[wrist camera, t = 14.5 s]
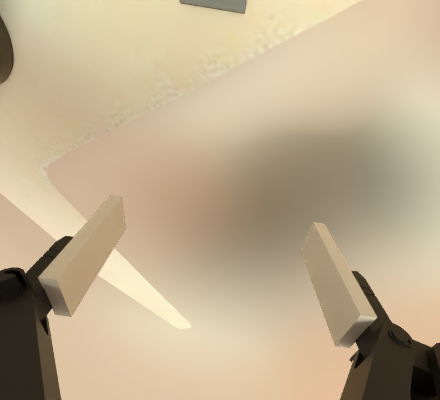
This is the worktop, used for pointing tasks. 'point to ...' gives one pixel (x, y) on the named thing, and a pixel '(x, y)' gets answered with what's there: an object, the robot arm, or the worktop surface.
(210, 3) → the mat
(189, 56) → the worktop surface
